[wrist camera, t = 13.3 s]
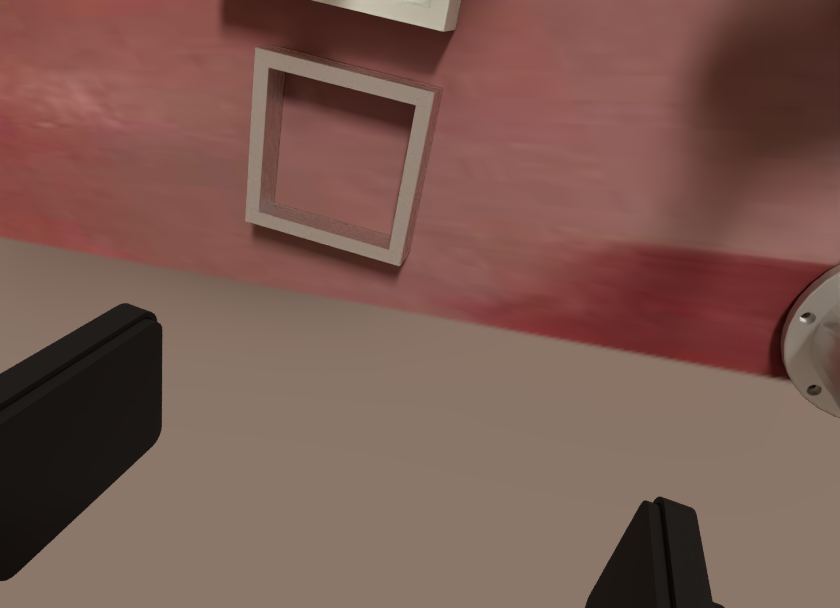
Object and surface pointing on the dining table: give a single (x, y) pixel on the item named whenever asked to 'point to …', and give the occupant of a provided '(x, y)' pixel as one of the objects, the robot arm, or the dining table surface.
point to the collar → (266, 148)
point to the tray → (408, 11)
